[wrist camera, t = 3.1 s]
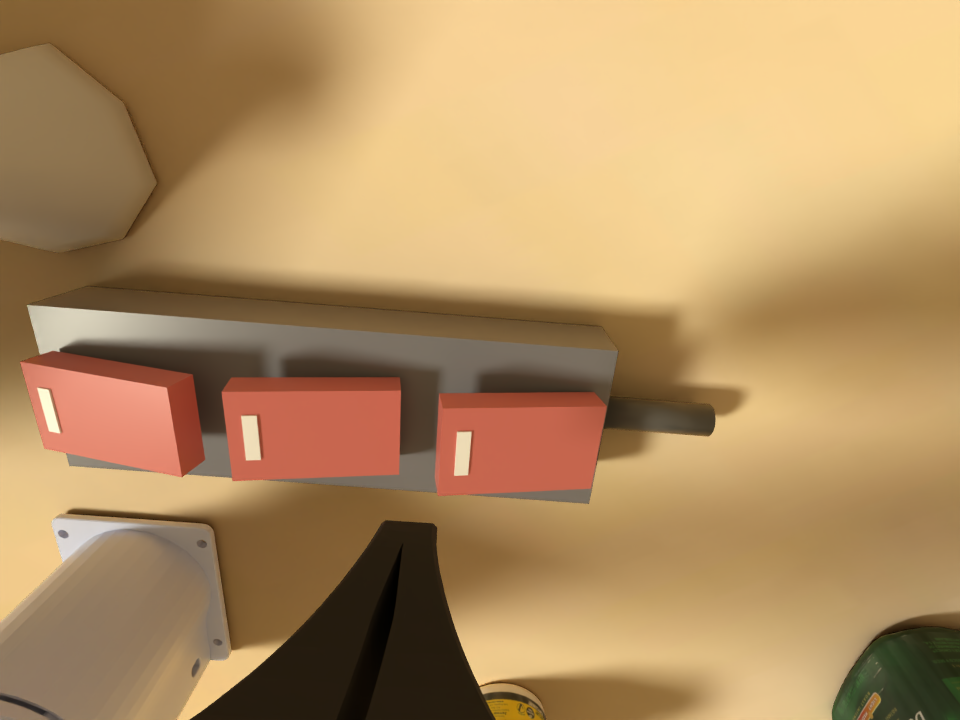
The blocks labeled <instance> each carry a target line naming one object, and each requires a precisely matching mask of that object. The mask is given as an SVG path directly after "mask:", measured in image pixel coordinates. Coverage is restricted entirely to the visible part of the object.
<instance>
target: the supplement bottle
mask: <svg viewBox="0 0 960 720" xmlns="http://www.w3.org/2000/svg"><path fill="white" fill-rule="evenodd" d="M480 689H481V691H482V694H483V696H484V698H485V700H486V702H487V704H488V706H489V708H490V710H491V712H492V714H493V715H494V717H495V719H496V720H546V718H545V712H544V708H543V706H542V704H541V702H540V701H539V699H538V698H537V697H536V696H535V695H534V694H533V693H531V692H530V691H528V690H527V689H525V688H523V687H520V686H517V685H513V684H506V683H498V684H490V685H486V686H483V687H480Z"/></svg>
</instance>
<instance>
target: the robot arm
mask: <svg viewBox="0 0 960 720" xmlns="http://www.w3.org/2000/svg"><path fill="white" fill-rule="evenodd" d="M52 527H53V531H54V534H55V538H56V541H57V544H58V548H59V551H60V554H61V558H62V561H63V563H62V564H61V565H60V566H59V567H58V568H57V569H56V570H55V571H54V572H52V573H51V574H50V575H49V576H48V577H47V578H46V579H45V580H44V581H43V582H42V583H41V584H40V585H39V586H38V587H37V588H36V589H34V590H33V591H32V592H31V593H30V594H29V595H28V596H27V597H26V598H25V599H24V600H23V601H22V602H21V603H20V604H19V605H18V606H16V607H15V608H14V609H13V610H12V611H11V612H10V613H9V614H8V615H7V616H6V617H5V618H4V619H3V620H2V621H1V622H0V720H177V719H178V717H179V715H180V714H181V712H182V710H183V708H184V706H185V705H186V703H187V701H188V699H189V697H190V696H191V694H192V692H193V690H194V688H195V687H196V685H197V683H198V681H199V679H200V678H201V676H202V674H203V672H204V670H205V669H206V667H207V665H208V663H209V661H210V660H220V661H221V660H226V659H227V658H228V657H229V655H230V653H231V644H230V637H229V630H228V624H227V617H226V610H225V603H224V597H223V590H222V583H221V577H220V570H219V563H218V556H217V550H216V543H215V536H214V531H213V529H212V528H211V527H210V526H209V525H207V524H202V523H188V522H174V521H160V520H146V519H132V518H118V517H104V516H90V515H75V514H60V515H58V516H57V517H55V518H54V519H53V520H52ZM202 540H204V541H205V542H203V541H202ZM436 540H437V527H436V526H435V525H434V524H432V523H417V522H402V521H388V520H386V521H385V522H383V523H382V524H381V526H380V527H379V529H378V531H377V532H376V534H375V536H374V537H373V539H372V540H371V542H370V543H369V545H368V546H367V548H366V549H365V550H364V552H363V553H362V555H361V556H360V558H359V559H358V560H357V562H356V563H355V564H354V566H353V567H352V568H351V569H350V571H349V572H348V573H347V575H346V576H345V577H344V579H343V580H342V581H341V582H340V584H339V585H338V586H337V587H336V588H335V590H334V591H333V592H332V593H331V594H330V595H329V597H328V598H327V599H326V600H325V601H324V602H323V604H322V605H321V606H320V607H319V608H318V609H317V610H316V611H315V613H314V614H313V615H312V616H311V617H310V618H309V619H308V620H307V621H306V622H305V623H304V624H303V625H302V626H301V627H300V628H299V629H298V630H297V631H296V632H295V633H294V634H293V635H292V636H291V637H290V638H289V639H288V640H287V641H286V642H285V643H284V644H283V645H282V646H281V647H280V648H278V649H277V650H276V651H275V652H274V653H273V654H272V655H271V656H270V657H269V658H267V659H266V660H265V661H264V662H263V663H262V664H261V665H260V666H258V667H257V668H256V669H255V670H254V671H253V672H251V673H250V674H249V675H248V676H247V677H245V678H244V679H243V680H242V681H240V682H239V683H238V684H236V685H235V686H234V687H233V688H231V689H230V690H229V691H228V692H226V693H225V694H224V695H222V696H221V697H220V698H219V699H217V700H216V701H215V702H214V703H212V704H211V705H210V706H208V707H207V708H205V709H204V710H203V711H201V712H200V713H199V714H197V715H196V716H194V717H193V718H191V719H190V720H496V719H495V717H494V715H493V714H492V712H491V710H490V708H489V706H488V704H487V702H486V700H485V698H484V696H483V694H482V691H481V689H480V687H479V685H478V683H477V681H476V679H475V677H474V675H473V673H472V670H471V668H470V666H469V663H468V661H467V659H466V656H465V654H464V651H463V649H462V646H461V643H460V641H459V638H458V635H457V632H456V630H455V627H454V624H453V621H452V617H451V614H450V611H449V607H448V604H447V600H446V597H445V593H444V588H443V584H442V579H441V575H440V570H439V564H438V557H437V548H436Z"/></svg>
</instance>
